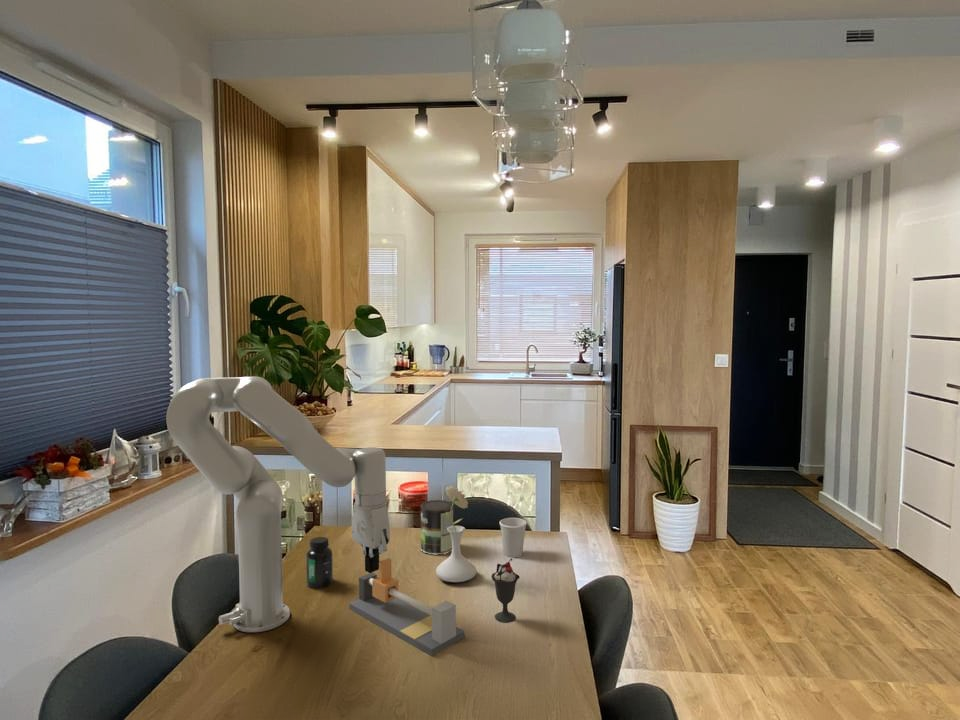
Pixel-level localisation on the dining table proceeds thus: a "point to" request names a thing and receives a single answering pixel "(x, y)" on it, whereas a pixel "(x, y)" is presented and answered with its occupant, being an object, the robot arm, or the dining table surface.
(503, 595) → the sundae
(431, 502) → the coffee can
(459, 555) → the flower in vase
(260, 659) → the dining table surface
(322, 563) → the supplement bottle
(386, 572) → the orange l-shaped block
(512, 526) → the dixie cup
